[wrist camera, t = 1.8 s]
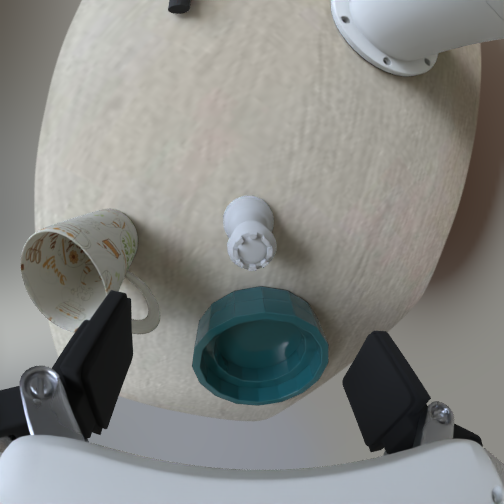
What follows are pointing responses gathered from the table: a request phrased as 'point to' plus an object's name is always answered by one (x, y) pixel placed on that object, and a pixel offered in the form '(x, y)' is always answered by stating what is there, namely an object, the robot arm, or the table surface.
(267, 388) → the bowl
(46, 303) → the mug
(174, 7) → the marker
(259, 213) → the rook chess piece
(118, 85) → the table surface
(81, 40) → the table surface
